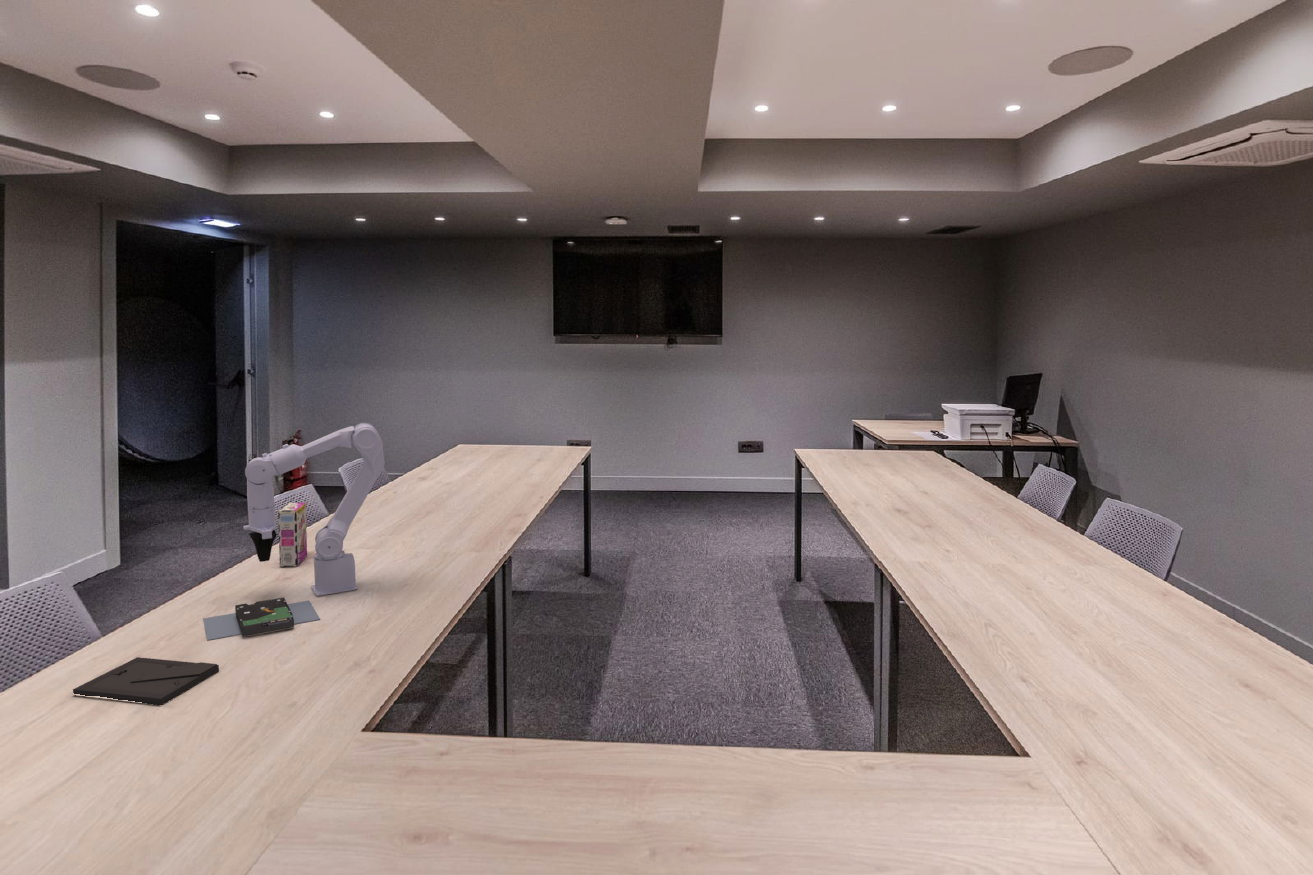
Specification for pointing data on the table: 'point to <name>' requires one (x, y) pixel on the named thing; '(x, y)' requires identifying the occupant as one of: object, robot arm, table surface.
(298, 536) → the candy bar box
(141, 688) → the picture frame
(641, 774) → the table surface
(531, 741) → the table surface
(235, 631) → the mat
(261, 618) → the disk drive
